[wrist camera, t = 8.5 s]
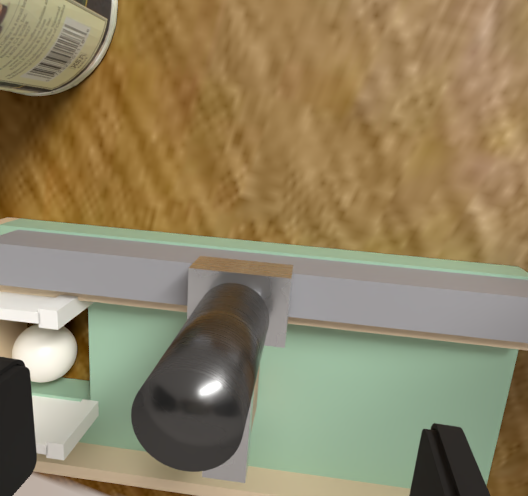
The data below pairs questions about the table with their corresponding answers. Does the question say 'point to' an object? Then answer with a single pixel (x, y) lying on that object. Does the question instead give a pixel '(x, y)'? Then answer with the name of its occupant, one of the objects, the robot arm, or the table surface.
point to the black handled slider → (214, 368)
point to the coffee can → (52, 43)
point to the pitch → (269, 356)
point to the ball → (45, 352)
